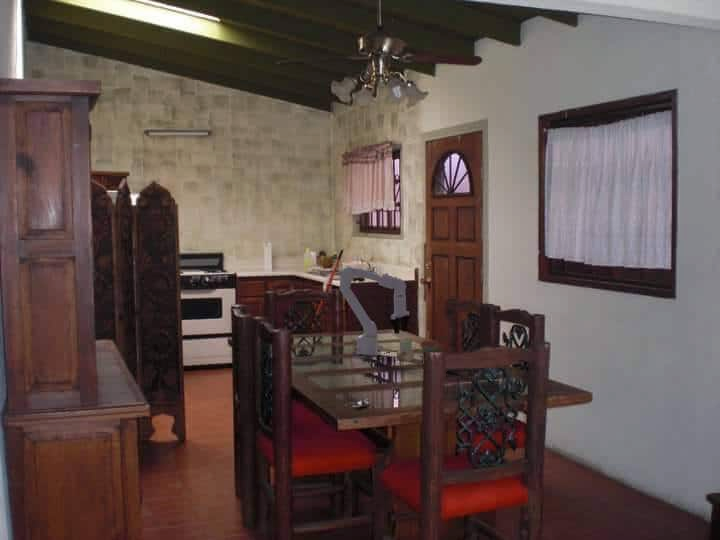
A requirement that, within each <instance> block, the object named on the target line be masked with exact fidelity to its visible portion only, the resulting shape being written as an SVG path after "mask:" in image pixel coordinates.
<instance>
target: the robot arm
mask: <svg viewBox="0 0 720 540" xmlns="http://www.w3.org/2000/svg"><path fill="white" fill-rule="evenodd" d="M354 278H356V279H359V278H365V279H367V280H372V281H375V282H377V283H378V285H379V286H381V287H383V288H388V289H391V290H392V289H394V290H393V292H394V293H393V314H391V315H390V318H389V322H390V324H391V326H392V328H393V332H394V334H400V330H401V331H402V332H407V330H408V326H409V323H410V321H411V318H412V316H411V315H410V311H408V310H407V297H406V296H407V295H406V290H407V284H406V282H405V281H404V280H403V279H401V278H400V277H398V276H395V277H394V276H392V275H389V274H388V273H387V272H386V273H381V274H377V273H374V272H371V271H369V270H365V269H363V268H360V267H355V266H354V267H353V266H350V265H347V266H344V267H343V268H342V270H341V272H340V277H339V290H340V292H341V294H342V295H343V297H344V299H345V300H346V302H347V303H348V306H350V309H351V310H352V311H353V313H354V314H355V317H357V319H358V321H359V322H360V325H361V326H362V328H363V333H362V334H360V335H358V337H357V340H356V346H357V347H356V348H357V349H356V350H357V351H356V355H360V354H361V355H363V356H370V357H373V356H378V355H377V354H380V353H381V352H382V351H379V349H378V346H379V345H378V344H379V343H378V334H377V332H378V328H377V325H376V323H375V322H374V321H373V320H371V319H370V317H369V315H368V314H367V313H366V311H365V310H364V308H363V306H362V304H361V303H360V302H359V299H358V298H357V297H356V295H355V293H354V292H353V291H352V289H351V286H352V285H351V284H352V282H353V280H354ZM400 328H401V329H400Z"/></svg>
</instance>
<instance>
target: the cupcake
mask: <svg viewBox="0 0 720 540" xmlns="http://www.w3.org/2000/svg"><path fill="white" fill-rule="evenodd" d="M438 346H439V344H438V342H437V341H436V340H433V339H430V332H429V331H427V339H424V340H422V341H421V342H420V343H419V347H420V348H421V349H422V352H423V351H424V350H429V351H435V352H436V349H438Z"/></svg>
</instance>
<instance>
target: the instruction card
mask: <svg viewBox="0 0 720 540" xmlns="http://www.w3.org/2000/svg"><path fill="white" fill-rule="evenodd" d="M380 352H381V353H380V354H377V355H376V356H378V355H381V356H380V357H396V358H397V352H398V351H397V352H396V351H394V352H393V351H389V352H390V353H386V352H387V351H380ZM384 353H385V354H384Z"/></svg>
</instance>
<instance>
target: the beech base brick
mask: <svg viewBox="0 0 720 540" xmlns="http://www.w3.org/2000/svg"><path fill="white" fill-rule="evenodd" d="M414 354H415V352H414V350H412V351H410V352H400V350H398V351H397V357H396V361H401V360H402V362H403V361H405V362H410V361H412V360H414V359H415V358H414Z"/></svg>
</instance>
